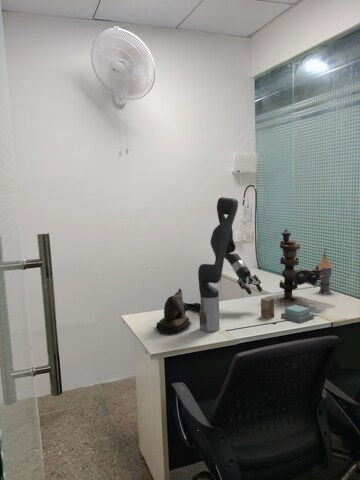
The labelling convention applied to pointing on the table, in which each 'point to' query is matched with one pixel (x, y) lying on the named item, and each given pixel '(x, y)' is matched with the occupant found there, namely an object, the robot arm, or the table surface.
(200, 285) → the robot arm
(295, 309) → the tower top slab
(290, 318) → the tower base slab
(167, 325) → the sculpture
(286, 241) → the valve
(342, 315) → the table surface
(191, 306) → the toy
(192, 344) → the table surface
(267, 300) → the walnut pillar
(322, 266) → the model tower
